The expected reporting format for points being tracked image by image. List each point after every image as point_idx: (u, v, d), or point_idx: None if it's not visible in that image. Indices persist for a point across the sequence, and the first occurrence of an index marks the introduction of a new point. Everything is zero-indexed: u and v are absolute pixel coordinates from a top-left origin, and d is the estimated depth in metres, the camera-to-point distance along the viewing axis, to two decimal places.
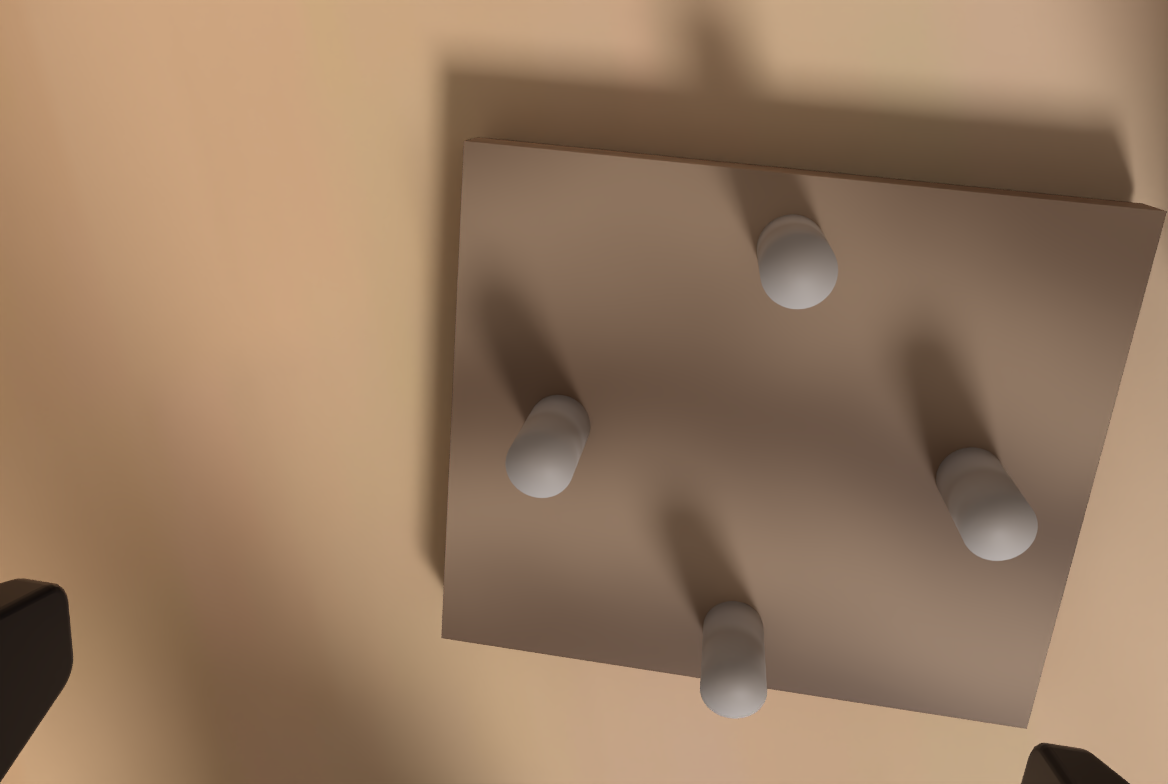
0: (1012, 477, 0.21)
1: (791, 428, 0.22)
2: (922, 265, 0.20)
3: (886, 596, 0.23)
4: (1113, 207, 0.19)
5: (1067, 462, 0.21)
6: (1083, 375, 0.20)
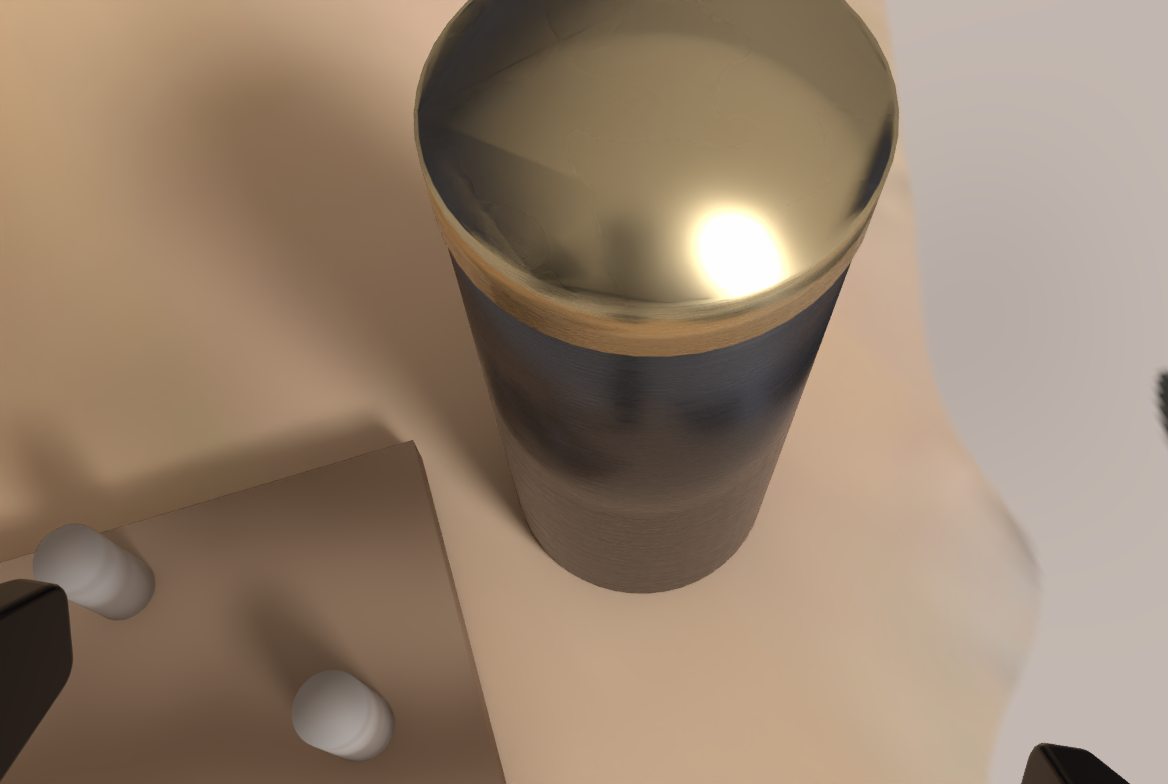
0: (399, 706, 0.21)
1: (171, 756, 0.21)
2: (241, 555, 0.22)
3: None
4: (372, 453, 0.23)
5: (441, 668, 0.21)
6: (415, 586, 0.22)
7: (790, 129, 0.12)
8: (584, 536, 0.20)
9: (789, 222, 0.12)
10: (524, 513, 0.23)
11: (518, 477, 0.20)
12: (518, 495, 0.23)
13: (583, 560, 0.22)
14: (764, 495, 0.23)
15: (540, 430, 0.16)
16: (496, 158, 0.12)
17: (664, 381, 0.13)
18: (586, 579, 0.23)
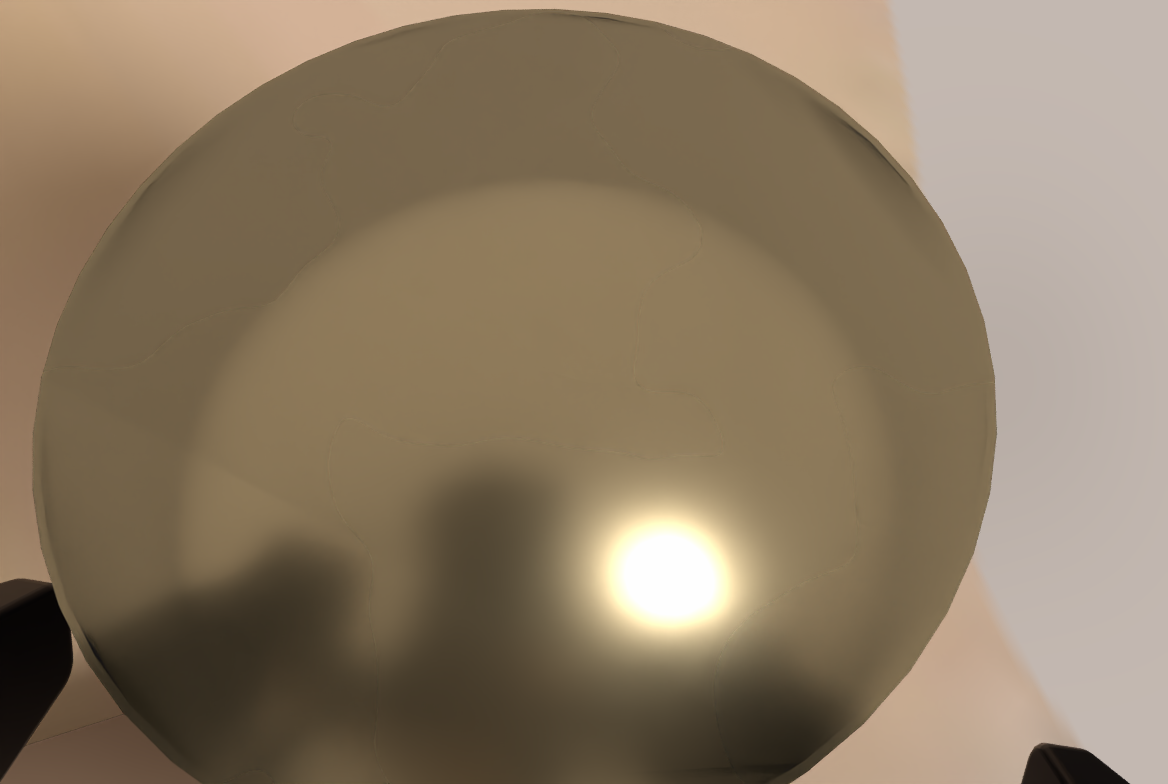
0: None
1: None
2: None
3: None
4: None
5: None
6: None
7: (778, 417, 0.06)
8: None
9: (777, 646, 0.06)
10: None
11: None
12: None
13: None
14: None
15: None
16: (186, 482, 0.06)
17: None
18: None
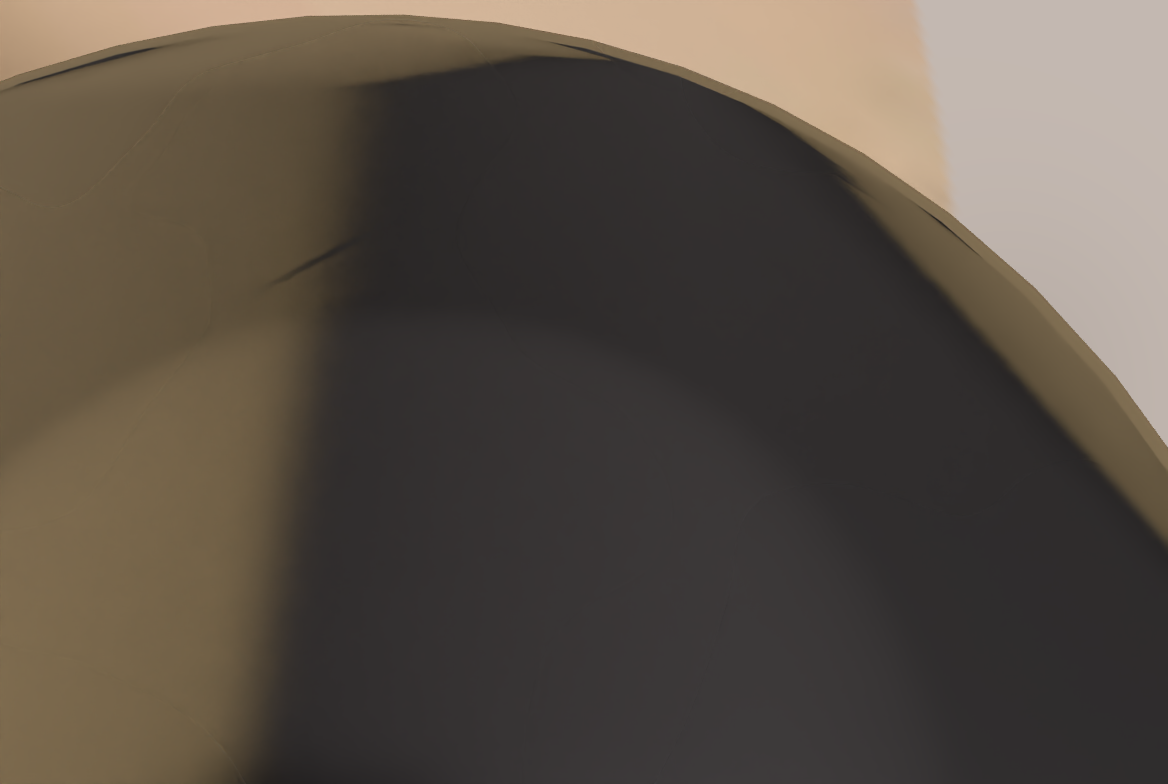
0: None
1: None
2: None
3: None
4: None
5: None
6: None
7: None
8: None
9: None
10: None
11: None
12: None
13: None
14: None
15: None
16: None
17: None
18: None
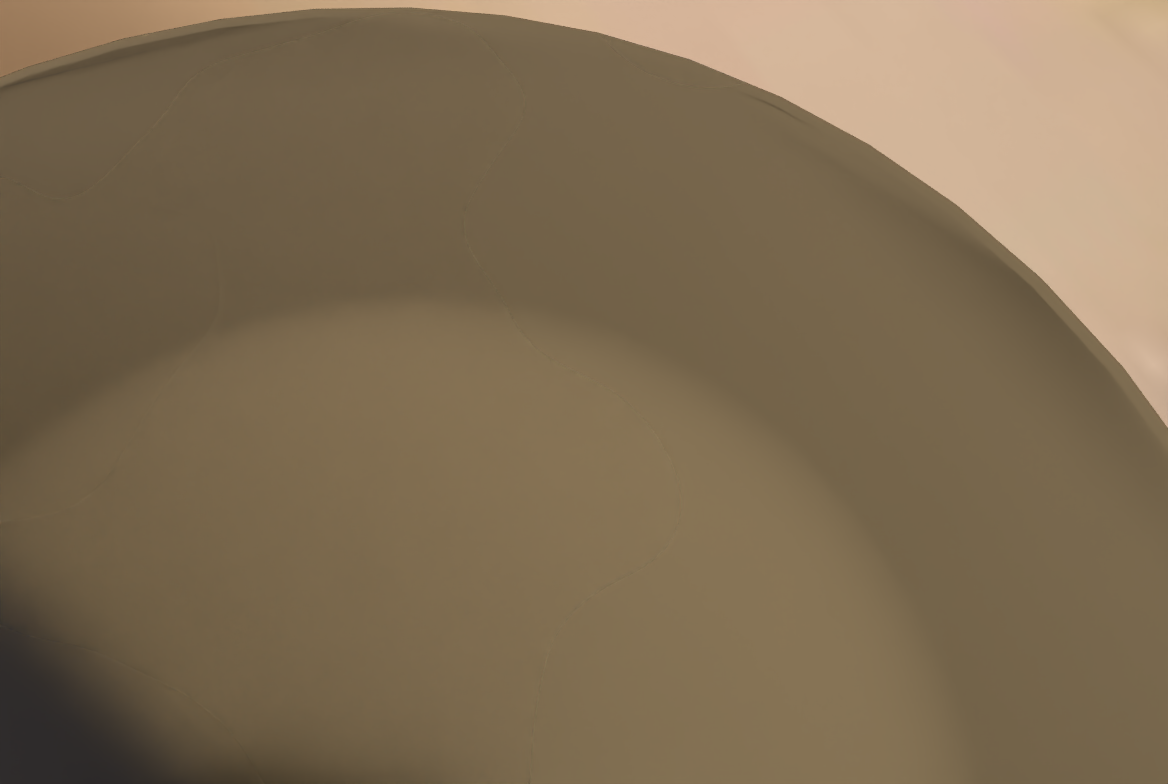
0: None
1: None
2: None
3: None
4: None
5: None
6: None
7: None
8: None
9: None
10: None
11: None
12: None
13: None
14: None
15: None
16: None
17: None
18: None
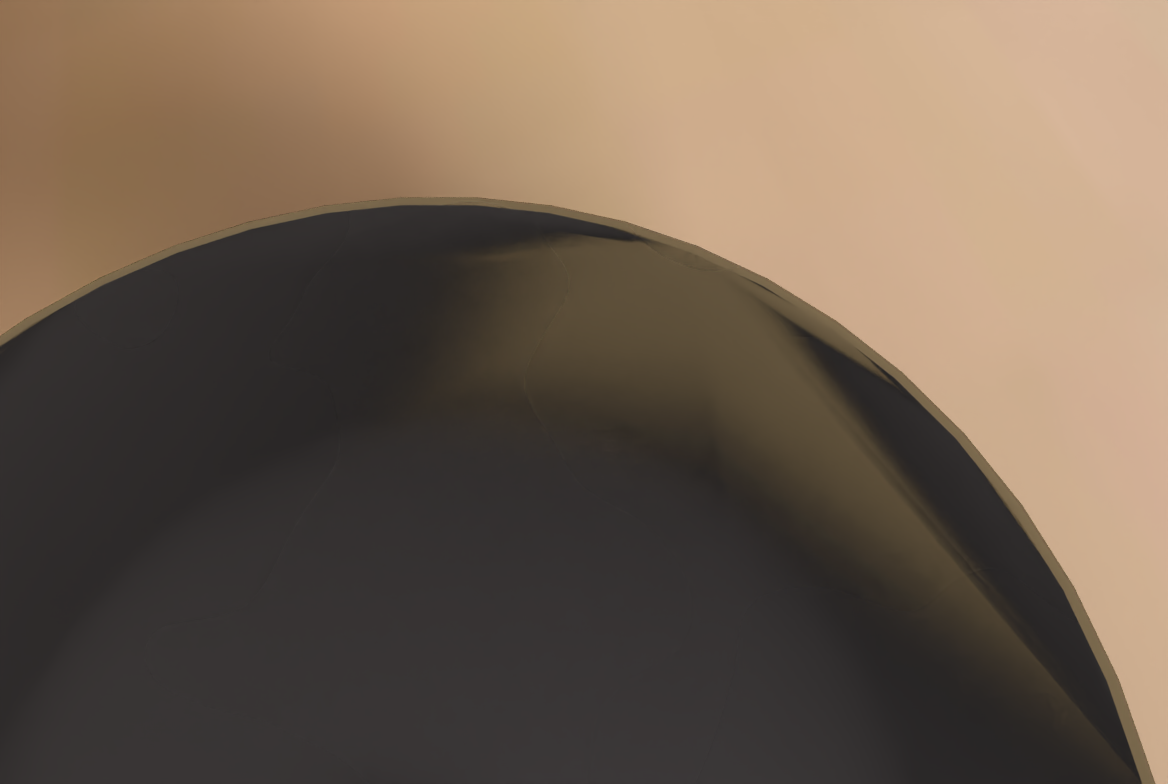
0: None
1: None
2: None
3: None
4: None
5: None
6: None
7: None
8: None
9: None
10: None
11: None
12: None
13: None
14: None
15: None
16: None
17: None
18: None
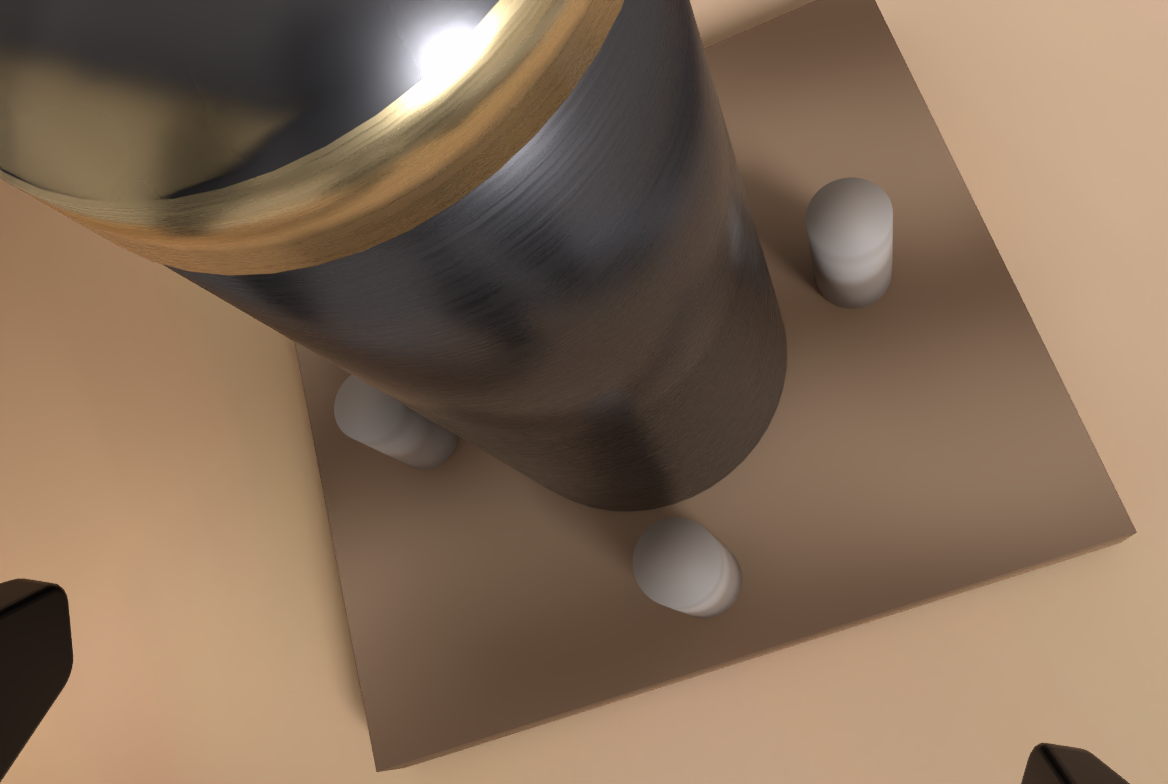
0: (894, 250, 0.19)
1: None
2: None
3: (851, 447, 0.18)
4: (818, 0, 0.21)
5: (938, 208, 0.19)
6: (892, 128, 0.19)
7: None
8: (566, 475, 0.16)
9: None
10: None
11: None
12: None
13: (591, 495, 0.17)
14: (780, 329, 0.18)
15: (392, 388, 0.11)
16: (28, 45, 0.08)
17: (450, 266, 0.08)
18: (615, 509, 0.19)
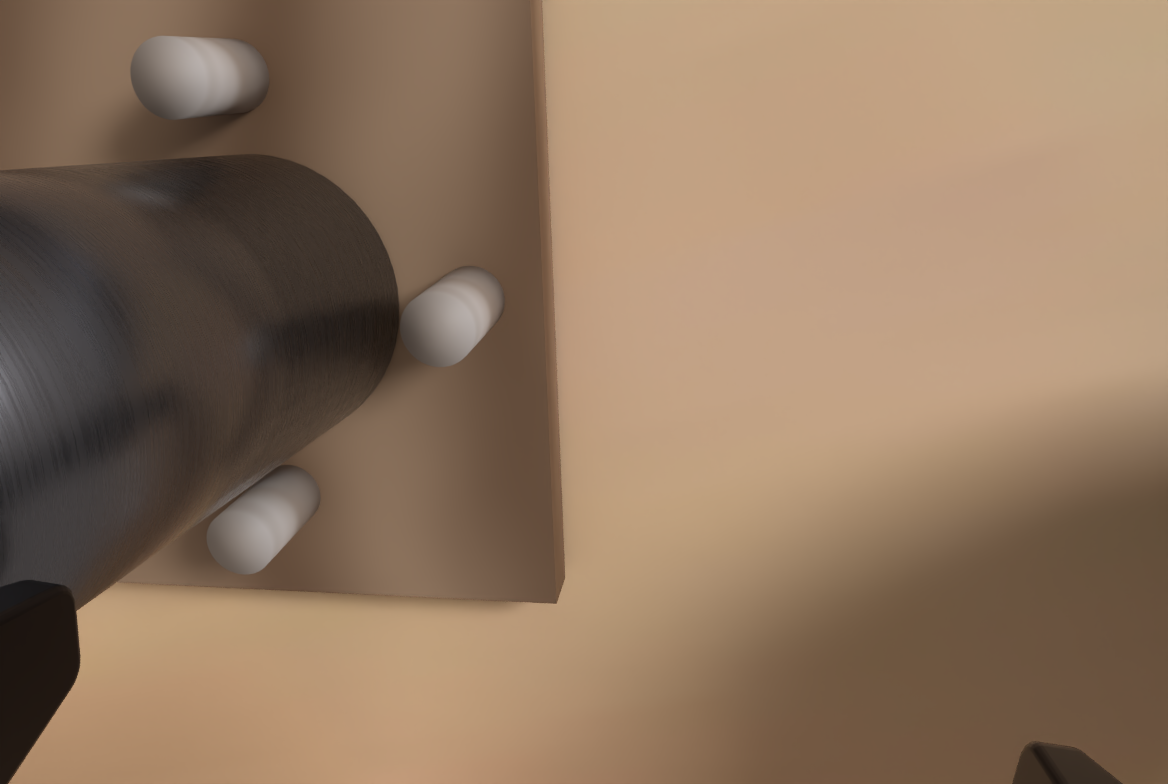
0: (222, 30, 0.19)
1: None
2: None
3: (392, 136, 0.20)
4: None
5: None
6: None
7: None
8: (322, 396, 0.17)
9: None
10: None
11: (263, 476, 0.18)
12: None
13: (361, 376, 0.19)
14: (262, 163, 0.19)
15: (159, 530, 0.13)
16: None
17: (14, 466, 0.10)
18: (389, 357, 0.21)
